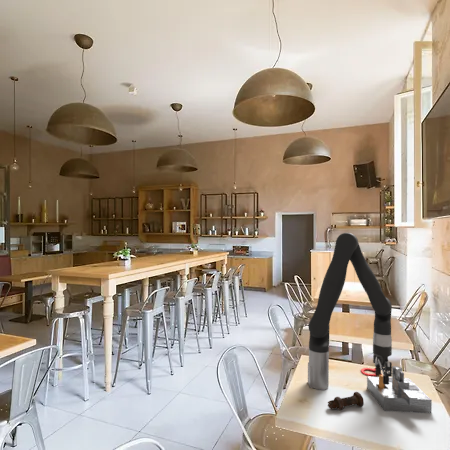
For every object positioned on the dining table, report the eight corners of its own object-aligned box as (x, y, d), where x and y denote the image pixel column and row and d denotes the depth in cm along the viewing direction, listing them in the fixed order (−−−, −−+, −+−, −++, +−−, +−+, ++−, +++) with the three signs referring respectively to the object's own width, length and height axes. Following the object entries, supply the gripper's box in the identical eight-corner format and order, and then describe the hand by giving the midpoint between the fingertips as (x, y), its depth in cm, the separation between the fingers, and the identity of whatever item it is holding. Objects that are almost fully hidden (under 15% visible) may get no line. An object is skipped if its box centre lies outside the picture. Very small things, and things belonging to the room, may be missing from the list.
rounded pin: (385, 399, 143) (385, 377, 143) (380, 399, 143) (380, 377, 143) (382, 397, 145) (383, 374, 146) (377, 397, 146) (378, 374, 146)
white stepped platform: (388, 417, 130) (389, 382, 130) (367, 387, 154) (367, 358, 154) (438, 420, 128) (438, 384, 128) (408, 389, 152) (409, 359, 152)
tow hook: (364, 377, 166) (383, 377, 165) (363, 352, 166) (381, 351, 165) (358, 370, 174) (376, 369, 174) (357, 346, 174) (375, 345, 174)
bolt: (328, 413, 136) (358, 406, 140) (334, 413, 132) (365, 406, 136) (324, 397, 139) (354, 391, 143) (330, 397, 134) (360, 391, 139)
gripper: (398, 349, 137) (398, 388, 137) (384, 337, 151) (384, 372, 151) (379, 348, 137) (379, 387, 137) (367, 337, 151) (367, 372, 151)
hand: (381, 379), depth 144 cm, fingers open, 8 cm apart
